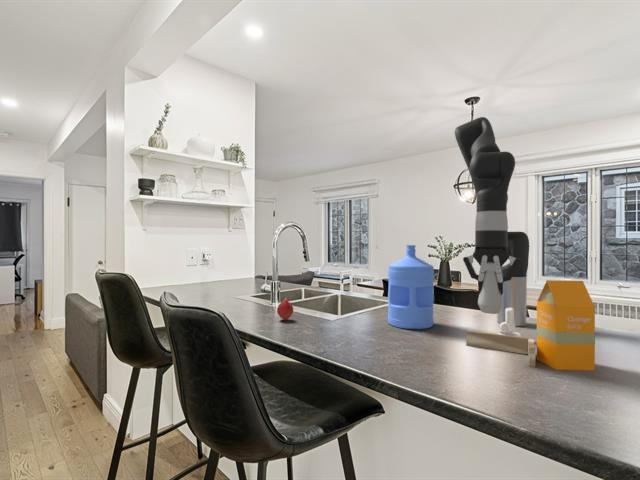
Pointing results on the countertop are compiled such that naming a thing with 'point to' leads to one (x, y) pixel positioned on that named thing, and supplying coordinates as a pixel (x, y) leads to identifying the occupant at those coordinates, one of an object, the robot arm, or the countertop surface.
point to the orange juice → (566, 326)
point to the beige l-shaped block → (502, 343)
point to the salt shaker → (490, 291)
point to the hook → (509, 324)
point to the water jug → (410, 292)
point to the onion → (285, 309)
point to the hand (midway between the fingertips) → (490, 296)
